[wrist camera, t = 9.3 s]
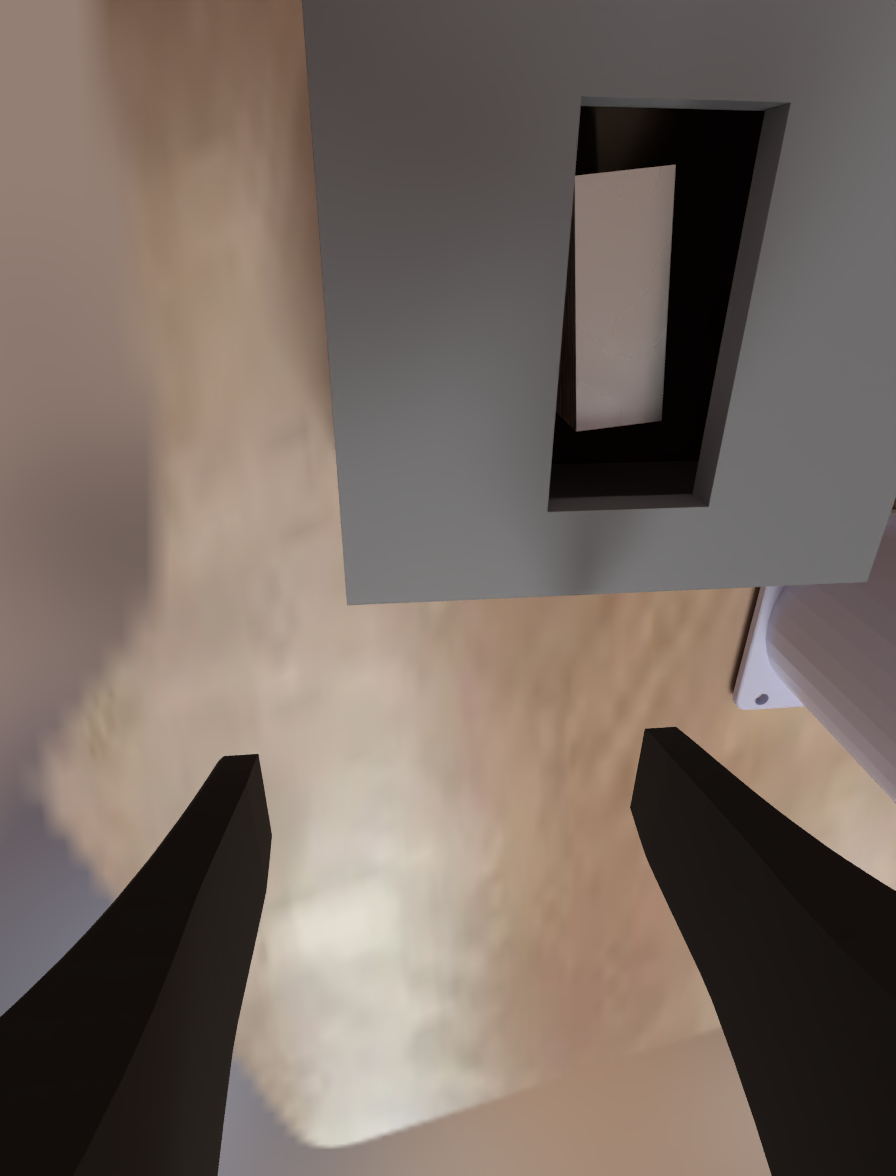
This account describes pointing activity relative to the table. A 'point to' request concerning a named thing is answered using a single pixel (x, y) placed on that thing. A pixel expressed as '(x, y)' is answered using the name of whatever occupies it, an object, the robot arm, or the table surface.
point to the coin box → (538, 283)
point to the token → (616, 299)
